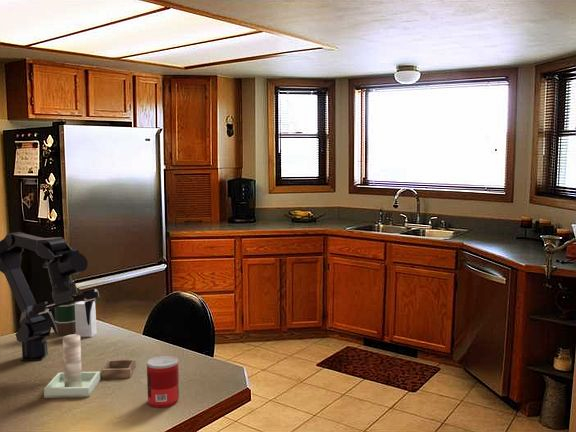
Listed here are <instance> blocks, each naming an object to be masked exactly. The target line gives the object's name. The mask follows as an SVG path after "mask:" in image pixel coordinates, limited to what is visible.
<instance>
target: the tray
mask: <svg viewBox="0 0 576 432" xmlns="http://www.w3.org/2000/svg"><path fill="white" fill-rule="evenodd" d="M100 381H101V371H82V387H65V384H64V371H63V372H58V373H57V374H56V375H55V376H54V377H53V378H52V379H51V381H49V383H48V384H47V385H45V387H43V397H44V398H43V399H61V398H62V399H63V398H64V399H65V398H67V399H68V398H89V397H90V396H91V395H92V393H93V392H94V390H96V387H97V386H98V385H99V383H100Z"/></svg>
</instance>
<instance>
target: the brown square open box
mask: <svg viewBox="0 0 576 432" xmlns="http://www.w3.org/2000/svg"><path fill="white" fill-rule="evenodd" d="M136 368H137V359H135V358H134V359H133V358H132V359H108V360H107V362H106V363H105V364H104V366H103V368H102V369H101V379H122V378H123V379H124V378H125V379H127V378H128V379H129V378H132V376H133V374H134V372H135V370H136Z"/></svg>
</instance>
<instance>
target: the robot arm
mask: <svg viewBox="0 0 576 432" xmlns="http://www.w3.org/2000/svg"><path fill="white" fill-rule="evenodd" d="M24 249H26V250H30V251H32V252H33V251H34V252H35V253H36V255H37V256H40V257H41V258H42V259H45V261H44V263H43V264H42V268H44V269H46V268H47V271H48V277H49V279H50V280H49V281H50V284H51V288H52V291H51V297H52V301H50V302H48V301H42V302H39V303H37V302H36V300H35V297H34V296H33V292H32V291H31V289H30V286H29V284H28V282H27V280H26V278H25V275H24V273H23V271H22V269H21V263H22V253H23V252H24ZM87 269H88V259H87V258H86V256H85V255H84V254H83V253H81V252H80V251H79V249H73V248H72V247H71V246H70V245H69V244H68V243H67V242H66V239H65V238H64V237H61V236H58V237H46V238H45V237H42V236H41V237H40V236H36V235H32V234H28V233H25V232H22V231H18V232H17V231H16V232H11V233H10V232H9V233H8V234H6V235H5V236H4V238H3V239H1V240H0V272H1V273H2V274H3V275H4V276H5V279H6V281H7V283H8V286H9V288H10V290H11V292H12V295H13V297H14V299H15V302H16V304H17V306H18V308H19V310H20V313H21V314H20V320H19V325H20V327H19V329H18V330H17V332H16V333H15V336H16V337H15V338H16V340H17V342H21V350H22V351H21V353H22V354H21V355H22V357H20V360H19V361H20V362H21V361H24V362H25V361H41V360H43V359H44V358H46V356H47V355H48V354H49V352H48V351H49V350H48V341H46V338H47V337H50V336H51V331H54V333H55V335H58V331H57V327H56V324H55V317H54V316H53V314H52V311H49V310H51V309H54V307H58V306H62V305H65V304H69V303H73V302H77V303H78V302H80V301H86V302H84V303H85V309H86V317H87V323H88V325H90V316H91V308H92V304H93V302H96V301H97V298H100V293H99V292H100V291H99V290H98V289H97V288H92V289H88V290H84V291H83V292H82V294H78V293H79V292H78V287H77V284H76V282H73V281H72V277H71V276H73V275H76V274H80V273H82V272H84V271H86V270H87ZM75 295H76V296H75ZM72 298H73V299H72ZM60 303H61V304H60Z"/></svg>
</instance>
